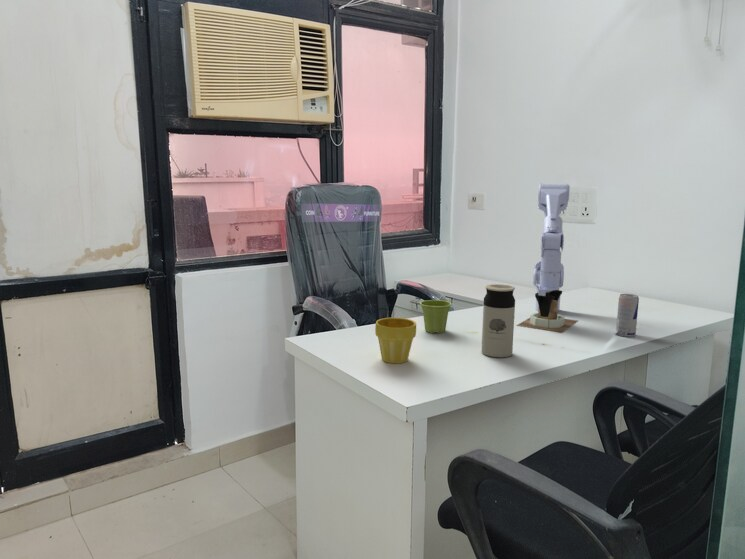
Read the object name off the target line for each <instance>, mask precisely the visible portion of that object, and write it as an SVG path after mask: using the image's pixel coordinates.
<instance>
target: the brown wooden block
mask: <svg viewBox="0 0 745 559" xmlns="http://www.w3.org/2000/svg"><path fill="white" fill-rule="evenodd" d="M558 311H559V310H558V301H556V300H553V301H552V303H551V307H550V312H549V315H548V317H542V316H541V315H540V309H538V311H537V313H538V318H541V319H548V320H552V319H557V314H558Z"/></svg>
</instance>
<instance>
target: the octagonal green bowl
mask: <svg viewBox="0 0 745 559" xmlns="http://www.w3.org/2000/svg"><path fill="white" fill-rule="evenodd" d="M529 318H530V323H531V324H533V325H535V326H539V327H545V328H560V327H562V326H563V325H564V319H566V318H565V316H564V315H561V314H558V313H557V319H552V320H548V319H541V318H538V312H534V313H532V314H530V316H529Z"/></svg>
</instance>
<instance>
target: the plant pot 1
mask: <svg viewBox="0 0 745 559" xmlns="http://www.w3.org/2000/svg"><path fill="white" fill-rule="evenodd" d="M374 330H375V336H376V337H377V340H378V344H379V351H380V357H381V360H382V361H383V362H386V363H388V364H403V363H406V362H408V360H409V357H410V353H411V348H412V343H413V340H414V338H416V337H417V336H416V335H417V322H416V321H414V320H412V319H409V318H405V317H384V318H380V319H377V320H376V322H375V329H374Z"/></svg>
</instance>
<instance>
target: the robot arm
mask: <svg viewBox="0 0 745 559" xmlns="http://www.w3.org/2000/svg"><path fill="white" fill-rule="evenodd" d="M537 198H538V200H537V201H538V202H537V204H538V205H537V206H538V210H540V211H542V212H543V213H544V219H543V220H542V221H543V224H542V235H541V236H540V237H541V238H540V255H541V256H540V258H541V259H539V261H537V262H535V264H534V269H533V281H532V285H533V286H534V287H535V288H536V292H535V293H534V297H535V311H536V312H538V309H540V315H541V316H542V317H548V315H549V312H550V307H551V303H552V301H553V300H556V301H558V310H557V311H562V309H560V307H561V296H562V293H563V291H562V290H560V289H561V288H562V287H563V286H564V280H565V278H564V277H565V270H564V269H565V266H564V265H563V263H562V262H561V261H562V252H563V250H564V246H565V245H564V244H565V243H564V241H565V236H564V231H563V219H562V217H561V212H563V211H566V210H567V207H568V204H569V200H570V185H569V184H568V183H566V184H565V183H564V184H559V183H558V184H554V183H553V184H552V183H551V184H550V183H549V184H548V183H544V184H543V183H540V184H539V185H538V197H537Z"/></svg>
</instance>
